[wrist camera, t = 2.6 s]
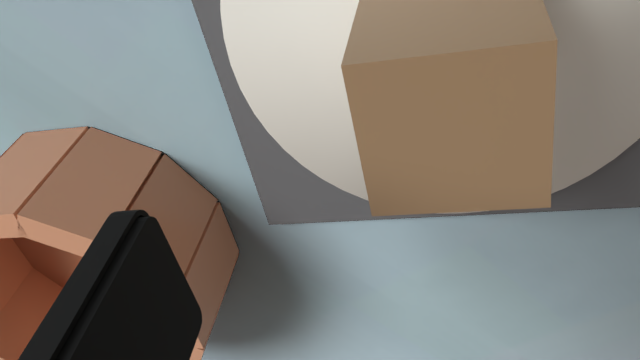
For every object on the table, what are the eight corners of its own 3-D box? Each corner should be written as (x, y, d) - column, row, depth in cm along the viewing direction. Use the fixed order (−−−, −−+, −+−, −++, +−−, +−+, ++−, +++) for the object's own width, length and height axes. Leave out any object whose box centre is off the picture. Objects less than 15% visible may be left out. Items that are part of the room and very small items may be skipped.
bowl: (185, 116, 21) (128, 207, 17) (263, 311, 27) (235, 409, 23) (-59, 141, 23) (-156, 223, 20) (65, 313, 30) (11, 400, 26)
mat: (829, -420, 11) (844, -425, 10) (686, 195, 20) (692, 204, 19) (121, -228, 14) (113, -227, 14) (272, 216, 23) (269, 224, 23)
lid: (764, -338, 11) (997, -379, 6) (665, 183, 19) (739, 334, 14) (164, -186, 14) (35, -140, 10) (288, 204, 22) (248, 333, 17)
